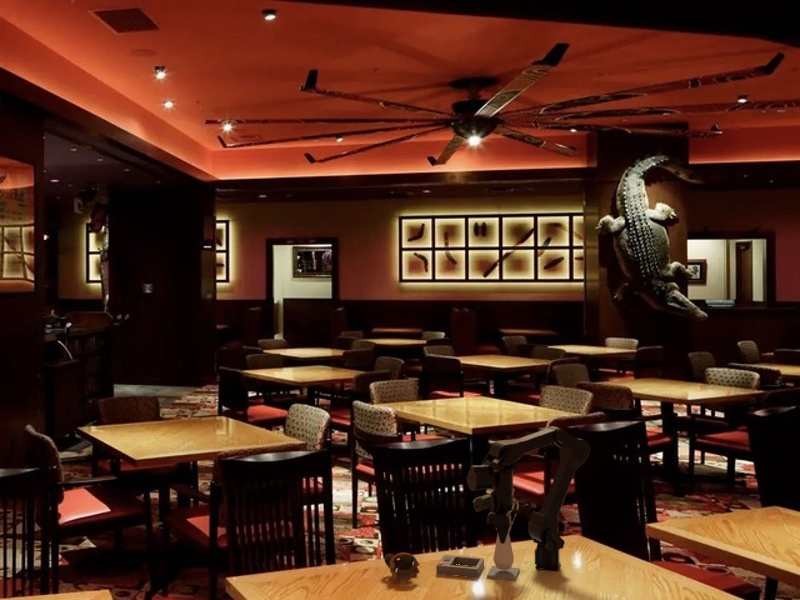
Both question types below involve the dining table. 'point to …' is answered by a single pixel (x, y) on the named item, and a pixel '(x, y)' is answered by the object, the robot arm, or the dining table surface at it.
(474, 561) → the grey rectangular tray
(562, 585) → the dining table surface
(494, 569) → the slate coaster
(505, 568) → the salt shaker
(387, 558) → the pottery mug
